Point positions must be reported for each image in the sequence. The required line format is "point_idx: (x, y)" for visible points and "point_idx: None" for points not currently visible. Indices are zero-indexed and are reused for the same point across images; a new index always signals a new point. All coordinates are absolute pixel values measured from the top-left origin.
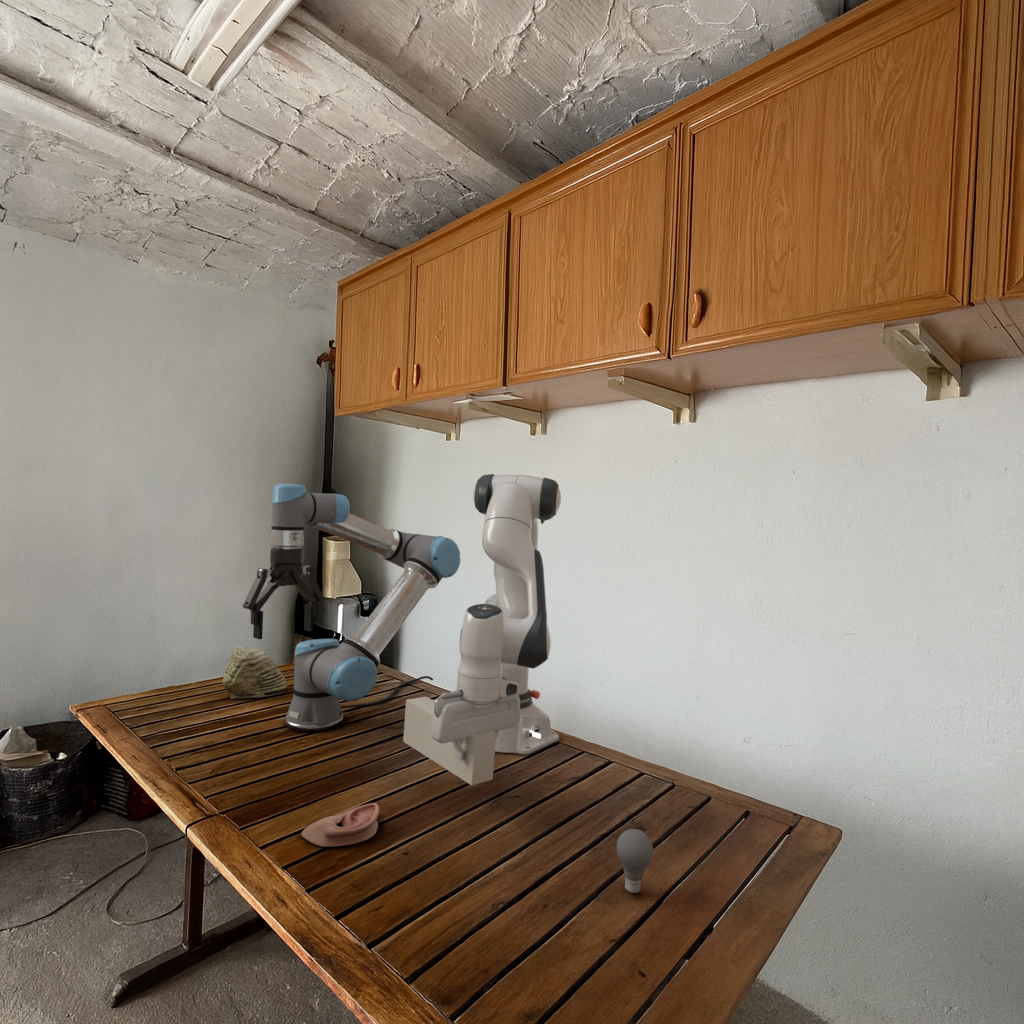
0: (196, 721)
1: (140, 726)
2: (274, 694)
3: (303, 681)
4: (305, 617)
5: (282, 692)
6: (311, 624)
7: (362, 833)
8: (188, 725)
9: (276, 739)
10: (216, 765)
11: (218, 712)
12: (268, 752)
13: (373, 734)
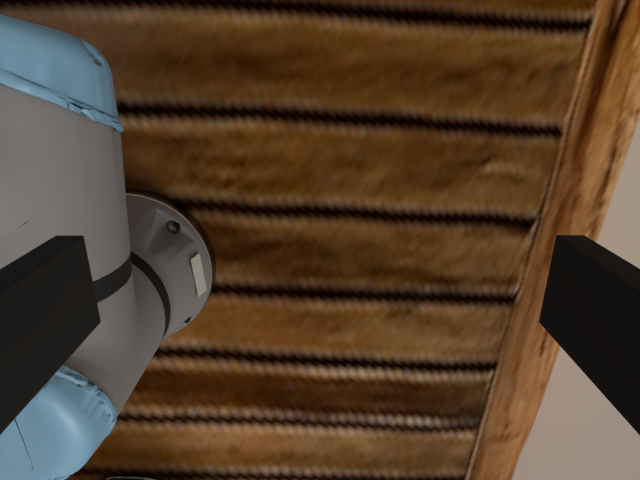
0: (351, 438)
1: (445, 477)
2: (133, 477)
3: (141, 308)
4: (29, 379)
5: (110, 478)
6: (32, 260)
7: None
8: (376, 428)
9: (275, 229)
10: (463, 183)
11: (289, 456)
12: (334, 167)
13: None
